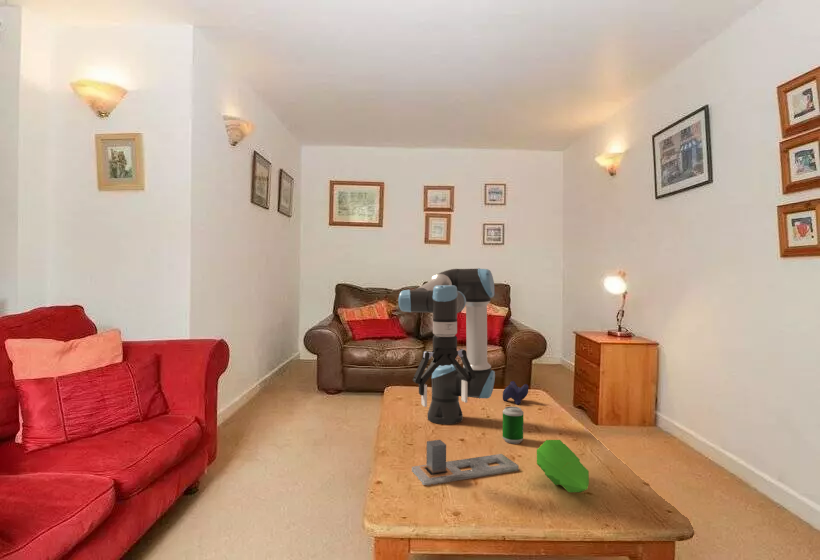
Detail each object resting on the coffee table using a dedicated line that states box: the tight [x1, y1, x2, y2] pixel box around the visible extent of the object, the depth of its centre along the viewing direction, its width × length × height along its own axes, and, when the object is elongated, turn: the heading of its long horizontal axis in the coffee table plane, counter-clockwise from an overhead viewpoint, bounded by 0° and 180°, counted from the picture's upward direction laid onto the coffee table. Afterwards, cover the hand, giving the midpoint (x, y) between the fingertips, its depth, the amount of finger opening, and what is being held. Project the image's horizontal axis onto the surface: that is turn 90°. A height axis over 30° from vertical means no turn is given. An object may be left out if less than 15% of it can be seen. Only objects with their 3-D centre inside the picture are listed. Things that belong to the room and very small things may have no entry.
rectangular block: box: [426, 439, 447, 475], centre depth 134 cm, size 4×4×10 cm
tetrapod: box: [502, 380, 530, 406], centre depth 217 cm, size 11×12×11 cm
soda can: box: [502, 406, 524, 445], centre depth 164 cm, size 8×8×12 cm
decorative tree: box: [536, 439, 590, 493], centre depth 128 cm, size 11×12×30 cm
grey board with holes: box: [411, 453, 520, 486], centre depth 138 cm, size 10×32×2 cm, turn 110°
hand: (444, 403), depth 137 cm, fingers open, 13 cm apart
